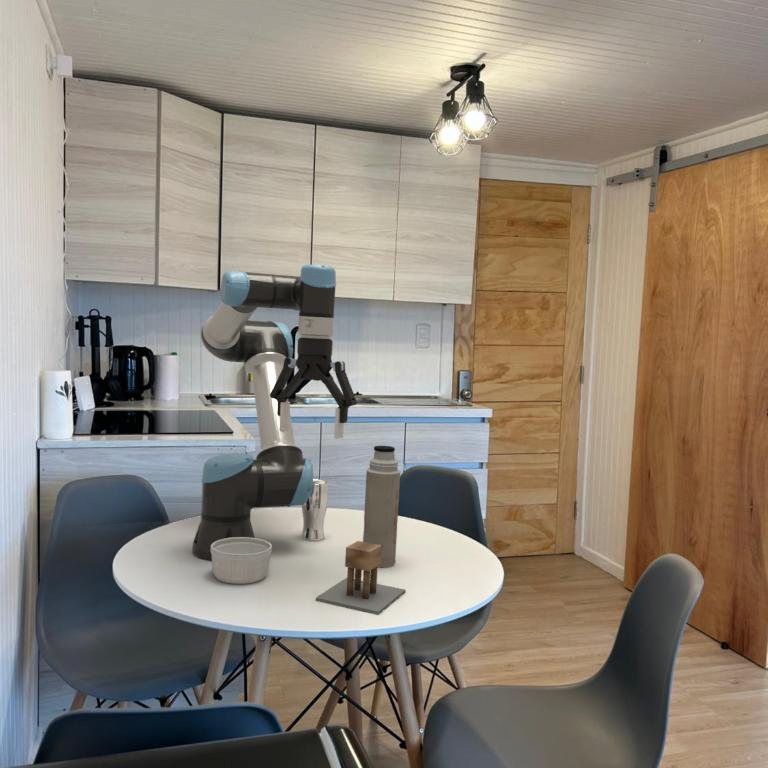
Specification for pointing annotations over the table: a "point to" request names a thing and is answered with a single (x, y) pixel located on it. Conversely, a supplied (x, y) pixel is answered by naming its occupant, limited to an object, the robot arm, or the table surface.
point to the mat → (371, 605)
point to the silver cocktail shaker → (315, 511)
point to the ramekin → (240, 559)
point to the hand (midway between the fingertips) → (310, 434)
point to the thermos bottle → (382, 503)
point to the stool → (362, 567)
